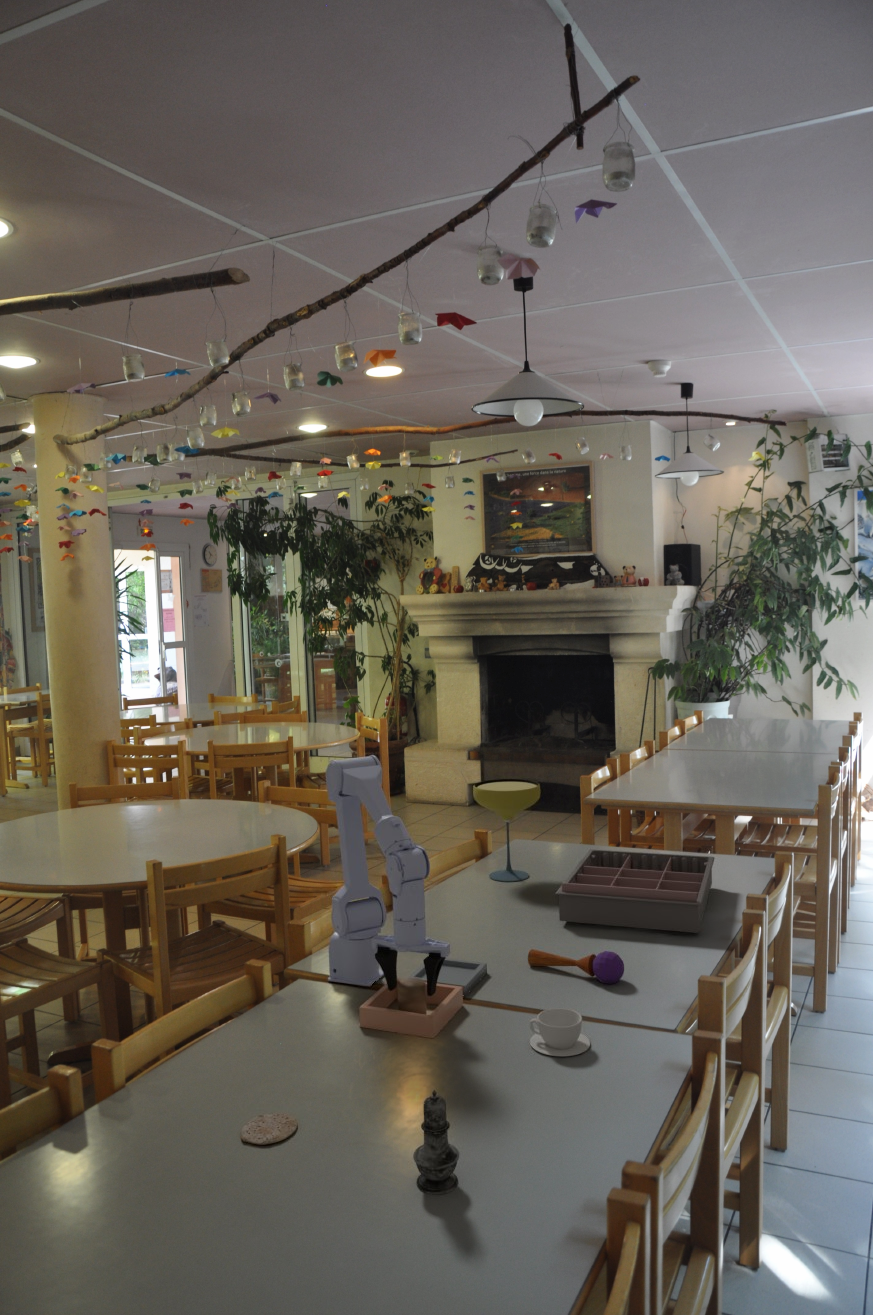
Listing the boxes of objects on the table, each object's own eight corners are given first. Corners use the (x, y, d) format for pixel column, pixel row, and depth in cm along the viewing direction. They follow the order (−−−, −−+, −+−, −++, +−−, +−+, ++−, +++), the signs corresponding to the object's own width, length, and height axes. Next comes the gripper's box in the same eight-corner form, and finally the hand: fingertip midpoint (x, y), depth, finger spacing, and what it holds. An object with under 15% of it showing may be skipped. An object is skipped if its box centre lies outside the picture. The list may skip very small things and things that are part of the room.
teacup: (594, 1035, 160) (594, 1008, 160) (584, 1062, 151) (583, 1034, 150) (537, 1029, 163) (536, 1002, 163) (523, 1055, 154) (522, 1027, 154)
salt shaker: (412, 1170, 123) (409, 1080, 122) (457, 1167, 123) (454, 1077, 123) (415, 1198, 117) (412, 1104, 116) (462, 1194, 117) (459, 1100, 117)
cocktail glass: (461, 877, 256) (459, 785, 255) (507, 863, 269) (504, 776, 267) (511, 890, 243) (508, 794, 242) (556, 875, 255) (554, 783, 254)
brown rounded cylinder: (394, 1020, 168) (392, 987, 168) (405, 1009, 173) (404, 976, 172) (419, 1024, 166) (418, 990, 166) (430, 1012, 171) (429, 980, 171)
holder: (359, 1027, 166) (359, 1007, 166) (393, 996, 179) (393, 977, 178) (433, 1038, 160) (432, 1018, 160) (462, 1005, 173) (462, 987, 173)
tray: (407, 988, 182) (407, 978, 182) (431, 966, 193) (431, 956, 193) (465, 996, 177) (465, 986, 177) (486, 973, 188) (486, 963, 188)
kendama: (539, 940, 195) (629, 951, 183) (539, 970, 194) (629, 983, 183) (524, 944, 190) (615, 955, 179) (524, 975, 189) (616, 987, 178)
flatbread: (272, 1112, 139) (272, 1105, 139) (308, 1128, 134) (308, 1122, 134) (228, 1137, 133) (228, 1130, 132) (264, 1155, 128) (263, 1148, 128)
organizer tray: (715, 887, 240) (714, 849, 240) (702, 941, 203) (701, 895, 203) (590, 878, 252) (589, 842, 251) (555, 927, 214) (554, 884, 214)
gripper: (362, 919, 168) (365, 995, 168) (438, 927, 162) (440, 1005, 163) (380, 907, 174) (382, 980, 175) (453, 915, 169) (455, 989, 169)
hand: (411, 991), depth 169 cm, fingers open, 7 cm apart
